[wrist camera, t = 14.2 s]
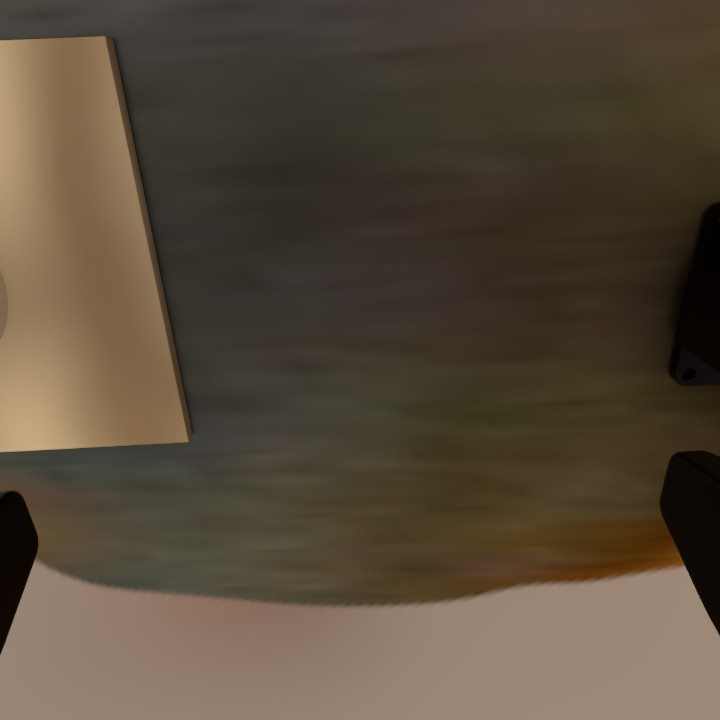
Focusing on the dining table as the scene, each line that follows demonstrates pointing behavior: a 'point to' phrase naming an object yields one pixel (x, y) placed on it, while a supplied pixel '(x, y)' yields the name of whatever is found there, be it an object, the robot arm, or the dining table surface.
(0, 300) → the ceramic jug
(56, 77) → the serving board
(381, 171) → the dining table surface
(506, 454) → the dining table surface
